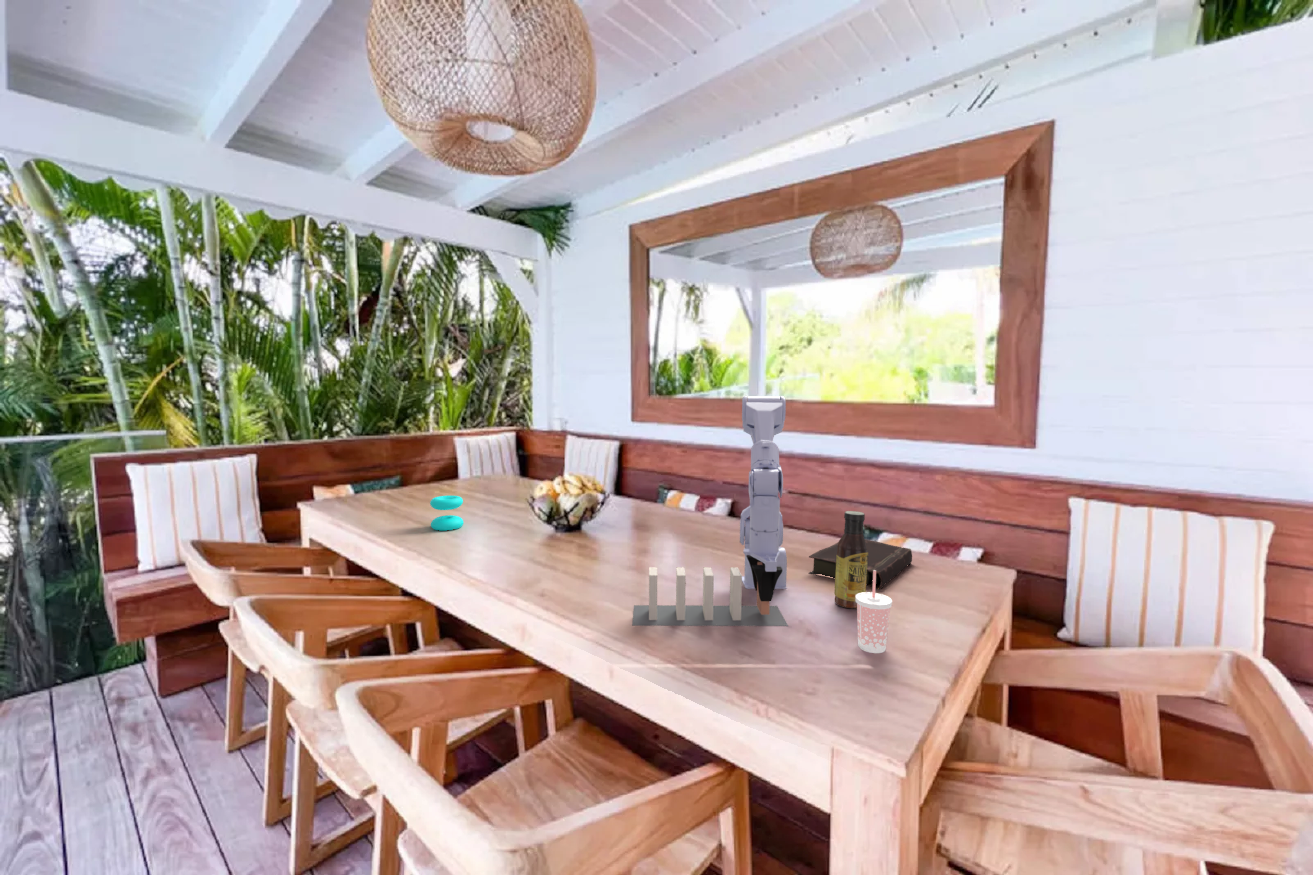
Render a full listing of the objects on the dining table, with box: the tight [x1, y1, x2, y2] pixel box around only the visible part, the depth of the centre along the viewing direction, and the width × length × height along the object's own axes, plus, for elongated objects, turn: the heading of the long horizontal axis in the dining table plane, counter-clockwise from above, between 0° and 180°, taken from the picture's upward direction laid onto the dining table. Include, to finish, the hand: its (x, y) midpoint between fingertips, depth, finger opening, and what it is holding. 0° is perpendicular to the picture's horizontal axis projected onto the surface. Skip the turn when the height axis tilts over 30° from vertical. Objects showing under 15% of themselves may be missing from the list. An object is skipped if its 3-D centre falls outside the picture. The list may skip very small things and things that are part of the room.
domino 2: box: [675, 566, 686, 620], centre depth 113 cm, size 2×5×9 cm, turn 0°
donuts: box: [429, 495, 464, 532], centre depth 184 cm, size 10×10×10 cm
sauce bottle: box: [833, 510, 868, 609], centre depth 120 cm, size 6×6×20 cm
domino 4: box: [729, 567, 743, 620], centre depth 114 cm, size 2×5×9 cm, turn 0°
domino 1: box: [648, 566, 658, 620], centre depth 113 cm, size 2×5×9 cm, turn 0°
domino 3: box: [702, 567, 715, 620], centre depth 113 cm, size 2×5×9 cm, turn 0°
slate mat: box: [631, 604, 789, 627], centre depth 114 cm, size 30×10×1 cm, turn 90°
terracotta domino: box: [756, 562, 771, 615], centre depth 113 cm, size 2×5×9 cm, turn 0°
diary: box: [808, 538, 913, 590], centre depth 145 cm, size 19×25×5 cm
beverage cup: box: [855, 570, 893, 654], centre depth 100 cm, size 6×6×14 cm
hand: (762, 595), depth 114 cm, fingers closed on terracotta domino, 5 cm apart
